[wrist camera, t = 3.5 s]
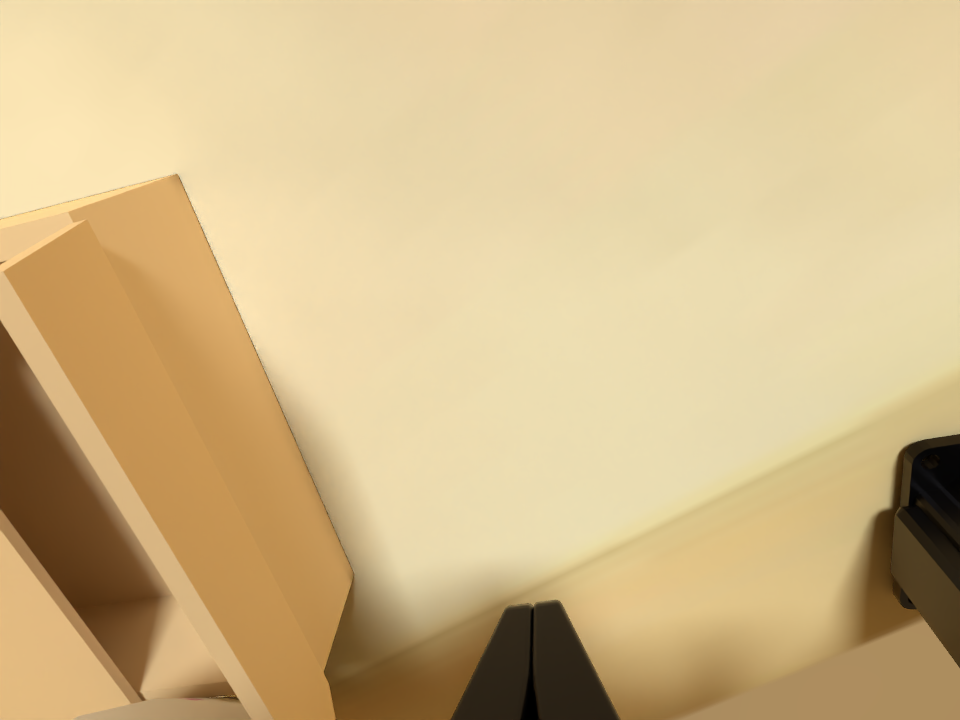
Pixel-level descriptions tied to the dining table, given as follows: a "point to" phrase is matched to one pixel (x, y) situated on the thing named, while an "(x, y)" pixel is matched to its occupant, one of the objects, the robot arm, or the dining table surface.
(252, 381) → the carton
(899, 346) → the dining table surface
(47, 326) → the flap
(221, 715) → the supplement can
